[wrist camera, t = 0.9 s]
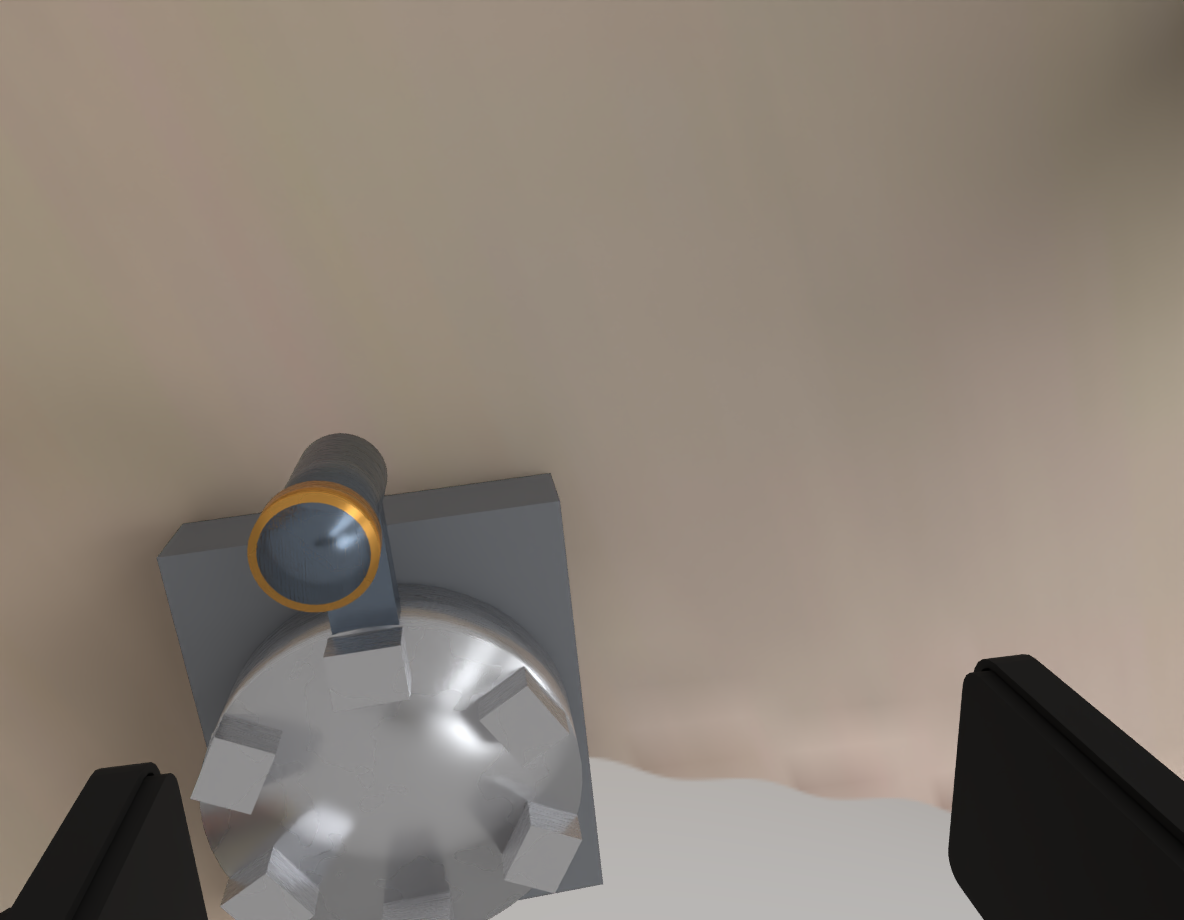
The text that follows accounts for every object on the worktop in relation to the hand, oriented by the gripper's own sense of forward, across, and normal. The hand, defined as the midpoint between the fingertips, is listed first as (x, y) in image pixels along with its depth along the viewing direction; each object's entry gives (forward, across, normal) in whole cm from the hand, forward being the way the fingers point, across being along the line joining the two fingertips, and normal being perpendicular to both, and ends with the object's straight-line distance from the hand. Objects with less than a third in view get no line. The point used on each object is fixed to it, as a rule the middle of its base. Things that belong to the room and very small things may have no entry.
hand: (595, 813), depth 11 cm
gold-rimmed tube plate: (+19, +5, +9) cm, 22 cm away
